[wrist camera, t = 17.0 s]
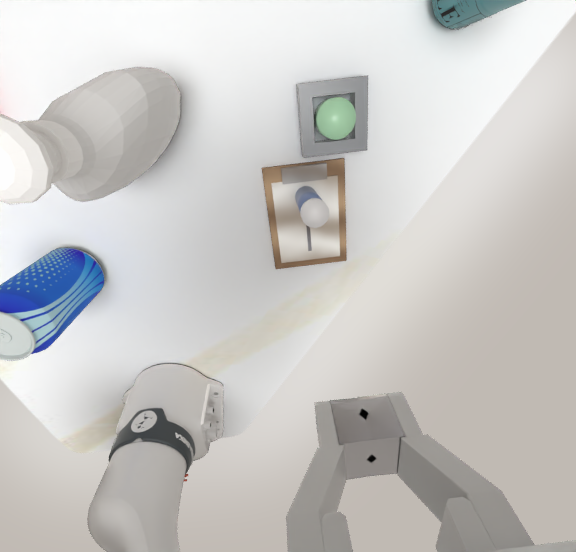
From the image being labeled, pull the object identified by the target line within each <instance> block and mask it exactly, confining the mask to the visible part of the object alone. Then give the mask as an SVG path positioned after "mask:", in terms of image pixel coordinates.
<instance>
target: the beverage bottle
mask: <svg viewBox="0 0 576 552" xmlns="http://www.w3.org/2000/svg"><path fill="white" fill-rule="evenodd" d="M524 1H526V0H432V5H433V11H434V14H435V16H436V18H437V19H438V21H439V22H440V23H441V24H442V25H443V26H446V27H447V28H448V27H449V29H450V28H453V30H454V28H457V29H458V28H462V27H464V28H465V27H467V26H468V27H469V24H472V23H474V22H477V21H479V20H482V19H484V18H486V17H488V16H491V15H493V14H495V13H497V12H499V11H501V10H504V9H506V8H509V7H511V6H514V5H516V4H519V3H521V2H524Z"/></svg>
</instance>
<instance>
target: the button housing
mask: <svg viewBox="0 0 576 552" xmlns="http://www.w3.org/2000/svg"><path fill="white" fill-rule="evenodd" d="M296 86H297V98H298V111H299V123H300V136H301V149H302V156H303V157H304V158H306V157H314V156H323V155H331V154H339V153H348V152H356V151H364V150H367V121H368V76H359V77H351V78H342V79H334V80H326V81H317V82H309V83H301V84H297V85H296ZM346 93H350V102H351V104H352V105H353V106H354V109H355V112H356V122H355V125H354V128H353V129H352V131H351V137H347V138H342V139H338V140H333V139H330V140H322V141H315V135H314V118H313V102H312V98H313V97H321V96H330V95H338V94H346Z"/></svg>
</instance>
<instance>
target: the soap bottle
mask: <svg viewBox="0 0 576 552" xmlns="http://www.w3.org/2000/svg"><path fill="white" fill-rule="evenodd" d="M180 98H181V93H180V91H179V89H178V87H177V85H176V83H175V81H174V80H173V78H172V77H171V76H170V75H168V74H167V73H165V72H163V71H161V70H159V69H155V68H147V67H134V68H128V69H122V70H116V71H111V72H105V73H103V74H102V75H100V76H98V77H96V78H94V79H92V80H91V81H89V82H87V83H85V84H83V85H81V86H80V87H78V88H76V89H74V90H72V91H70V92H68V93H67V94H65V95H63V96H61V97H59V98H58V99H56V100H54V101H53V102H52V103H51V104H50V105H49V107H48V108H47V109H46V111H45V112H44V113H43V115H42V116H41V117H40V119H39V120H37V121H22V122H19V121H16V120H14V119H12V118H9V117H7V116H5V115H2V114H0V201H1V202H4V203H7V204H21V203H32V202H34V201H37V200H38V199H39V198H40V197H41V196H42V195H43V194H45V193H46V192H47V191H48V190H49V189H50V188H51V183H53V184H54V185H55V186H56V187H57V188H58V189H59V190H60V191H61V192H63V193H64V194H65V195H66V196H68V197H70V198H71V199H73V200H76V201H81V202H85V201H91V200H96V199H99V198H103V197H105V196H107V195H109V194H111V193H113V192H115V191H117V190H119V189H122V188H124V187H126V186H127V185H129V184H130V183H132V182H133V181H134V180H136V179H137V178H138V177H139V176H141V175H142V174H143V173H144V172H145V171H147V170H148V169H149V168H150V167H151V166H152V165H153V164H154V163H155V162H156V161H157V159H158V158H159V157H160V156H161V154H162V153H163V152H164V150H165V149H166V148H167V146H168V144H169V143H170V141H171V139H172V137H173V135H174V134H175V131H176V128H177V126H178V123H179V119H180V113H181V109H180Z"/></svg>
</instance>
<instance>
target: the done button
mask: <svg viewBox="0 0 576 552" xmlns="http://www.w3.org/2000/svg"><path fill="white" fill-rule="evenodd" d="M355 122H356V112H355V109H354V106H353V105H352V104H351V102H350V101H348V100H347V99H345V98H342V97H335V98H329V99H326V100H324V101H322V102H321V103H320V104H319V105H318V107H317V109H316V111H315V114H314V124H315V127H316V129H317V130H318V132H319V133H320V134H321V135H323V136H325V137H327V138H329V139H333V140H338V139H342V138H344V137H346V136H347V135H348V134H349V133H350V132H351V131H352V129H353V128H354V125H355Z"/></svg>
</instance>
